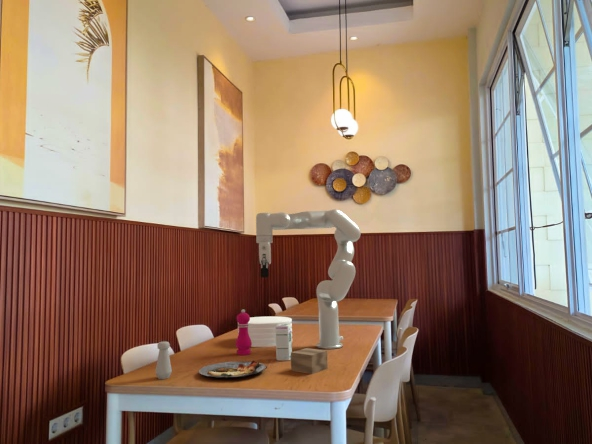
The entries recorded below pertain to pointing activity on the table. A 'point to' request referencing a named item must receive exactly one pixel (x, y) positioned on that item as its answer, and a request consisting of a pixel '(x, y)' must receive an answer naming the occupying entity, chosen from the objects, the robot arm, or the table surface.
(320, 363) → the walnut block
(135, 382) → the table surface
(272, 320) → the plate stack
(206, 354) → the table surface
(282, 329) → the syrup box
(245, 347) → the pepper mill
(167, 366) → the salt shaker
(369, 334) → the table surface
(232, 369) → the food plate
